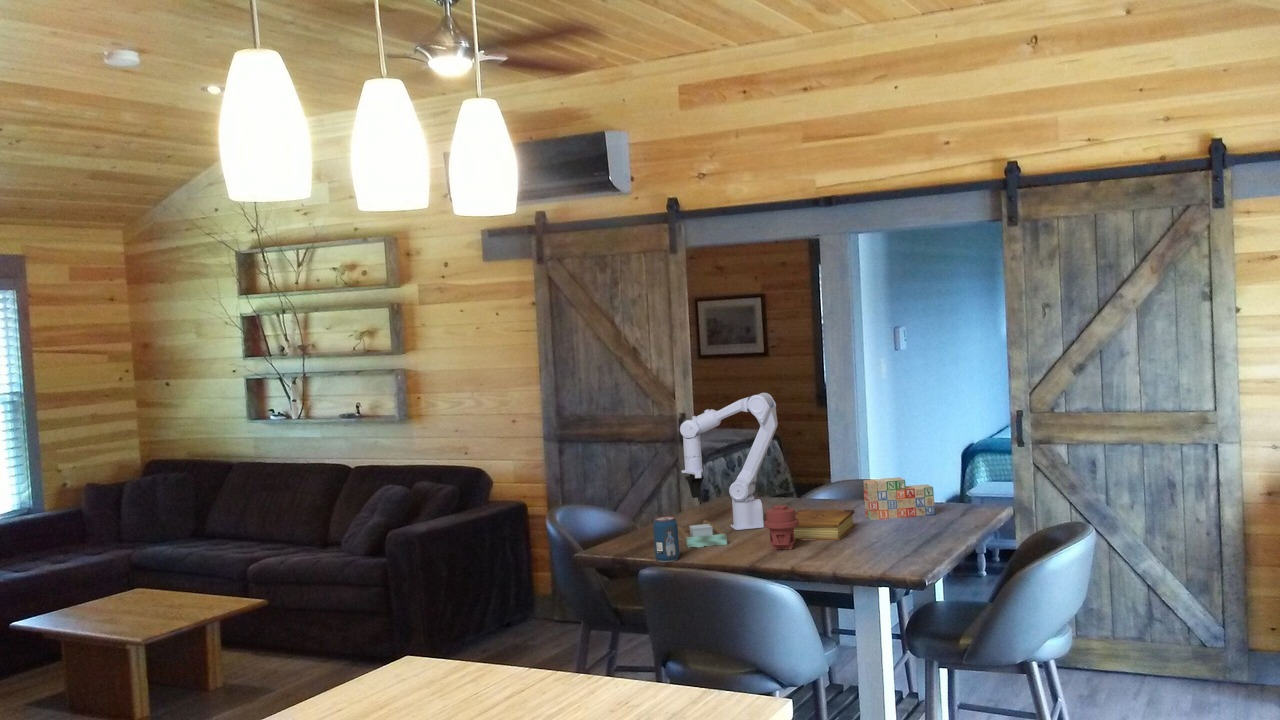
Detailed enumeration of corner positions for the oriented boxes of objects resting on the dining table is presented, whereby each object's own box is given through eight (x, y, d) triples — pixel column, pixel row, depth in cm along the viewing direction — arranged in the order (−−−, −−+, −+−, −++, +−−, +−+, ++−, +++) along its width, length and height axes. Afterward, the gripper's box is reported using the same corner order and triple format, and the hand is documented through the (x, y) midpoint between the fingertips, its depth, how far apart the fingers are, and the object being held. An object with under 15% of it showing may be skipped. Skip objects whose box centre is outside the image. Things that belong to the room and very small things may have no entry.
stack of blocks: (929, 512, 370) (927, 475, 370) (935, 515, 364) (933, 477, 364) (865, 517, 370) (862, 479, 369) (869, 520, 363) (867, 482, 363)
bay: (707, 528, 367) (707, 519, 367) (727, 544, 339) (726, 534, 339) (671, 532, 365) (670, 523, 365) (687, 548, 337) (687, 538, 337)
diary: (797, 527, 362) (796, 510, 362) (855, 528, 355) (854, 509, 355) (778, 541, 341) (777, 522, 340) (839, 542, 333) (838, 522, 333)
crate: (710, 539, 349) (708, 523, 349) (713, 543, 343) (712, 527, 343) (690, 541, 348) (689, 525, 348) (693, 545, 342) (692, 528, 342)
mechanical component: (805, 549, 324) (773, 553, 321) (792, 543, 334) (760, 547, 331) (803, 506, 324) (770, 510, 321) (789, 502, 333) (757, 505, 331)
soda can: (665, 556, 327) (662, 515, 327) (684, 558, 323) (681, 516, 323) (650, 561, 322) (647, 519, 322) (669, 563, 318) (666, 520, 317)
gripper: (676, 455, 377) (679, 495, 377) (684, 459, 362) (687, 501, 363) (697, 453, 378) (700, 493, 378) (706, 457, 363) (709, 499, 364)
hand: (695, 497), depth 370 cm, fingers closed
